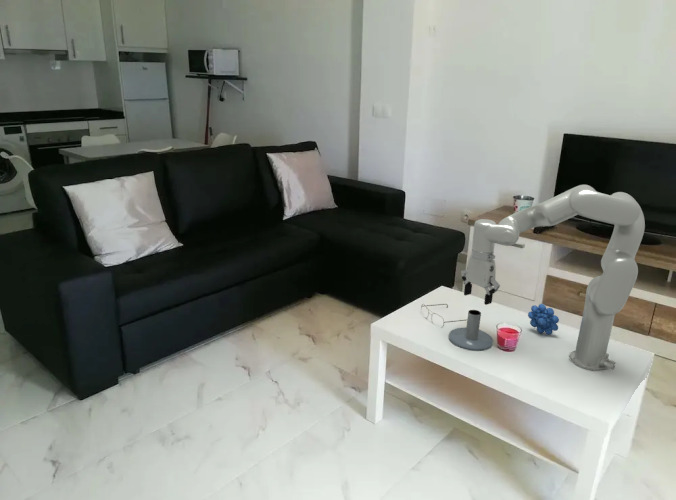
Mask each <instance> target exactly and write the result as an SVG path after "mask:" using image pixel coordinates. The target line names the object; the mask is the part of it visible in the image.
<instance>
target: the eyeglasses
mask: <svg viewBox="0 0 676 500" xmlns="http://www.w3.org/2000/svg"><path fill="white" fill-rule="evenodd" d="M420 306H421V307H420V309H422V308H423V307H424V306H425V308H426V309H427V310H428V314H427V316H426V318H428V317H429V316H430V315H431V314H432V315H433V314H434V315H437V316H439V317H441V318H442V316H441V315H439V314H438V313H435V312H433V311H431V310H430V309H429V308H428V307H432V306H433V307H434V306H435V307H436V304H429V305H428V304H427V305H425V304H424V303H423V304H421V305H420ZM437 306H446V308H448V307H449V305H448V303H439V304H437ZM442 320H443V325H442V326H441V327H440V328H441V329H442V328H443V327H444V326H445V323H453V322H454V323H455V322H465V321H467V319H459V320H458V319H457V320H450V321H449V320H448V321H445V320H444V318H442ZM431 323H432V324H434V322H433V316H431Z"/></svg>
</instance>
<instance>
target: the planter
mask: <svg viewBox="0 0 676 500" xmlns="http://www.w3.org/2000/svg"><path fill="white" fill-rule="evenodd" d="M481 317H482V312H481V311H479V310H477V309H470V310H468V313H467V319H466V321H467V322H466V327H465V328H466V335H465V337H466V338H467V339H469V340H477V339H478V333H479V330H480V326H481Z"/></svg>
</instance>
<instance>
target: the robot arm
mask: <svg viewBox="0 0 676 500" xmlns="http://www.w3.org/2000/svg"><path fill="white" fill-rule="evenodd" d="M575 216H581V217H584V218H587V219H591V220H595V221H598V222H602V223H607V224H611V225H614V227H613V231H612V234H611V237H610V240H609V242H608V244H607V247H606V249H605V251H604V252H603V255H602V257H601V260H600V266H601V268H602V271H603V272H602V274H601V275H597V276H595V277H593V278H592V279H591V280H590V281H589V282H588V285H587V288H586V291H585V292H586V293H585V299H584V300H585V301H584V307H583V311H582V317H581V322H580V326H579V327H580V328H579V332H578V338H577V341H576V347H575V350H572V351H570V352H569V355H568V357H569V360H570V361H571V362H572V363H573V364H575V365H576V366H577V367H580V368H583V369H585V370H589V371H598V372H599V371H605V370H607V369H608V370H609V369H610V370H611V371H614V369H615V368H616V361H615V360H611V359H610V358H609V357H610V354H609V353H607V351H608V347H609V342H610V339H611V333H612V331H613V325H614V322H615V316H616V314H618V313H620V311H621V310H623V308H624V307H625V305H626V303H627V301H628V299H629V297H630V294H631V292H632V291H633V288H634V285H635V284H636V281H637V279H638V274H639V268H638V264H637V262H636V260H635V258H636V256H637V253H638V251H639V248H640V246H641V245H640V244H641V242H642V240H643V236H644V233H645V228H646V224H645V216H644V212H643V210H642V208H641V206H640V204H639V203H638V201H636V199H635V198H634V197H633V196H632V195H630V194H628V193H626V192H623V191H617V192H614V193H612V194H610V195H609V194H606V193H602V192H599V191H597V190H596V189H595V188H594V187H593V186H591V185H588V184H579V185H577V186H574V187H572V188H570V189H567V190H565V191H564V192H561V193H560V194H558V195H556V196H553V197H552V198H549V199H547V200H545V201H544V200H543V201H542V202H540V203H537V204H534V205H532V206H529V207H526V208H523V209H520V210H518V211H516V212H514V213H512V214H510V215H508V216H506V217H505V218H503V219H501V220H500V221H499V222H498V224H497V222H495V220H491V219H487V218H485V219H484V218H481V219H477V220H476V221H475V222H474V225H473V235H472V243H471V245H472V246H471V252H470V253H471V254H470V256H469V259H468V262H467V266H466V269H463V270H461V271H460V273H461V280H462V281H463V285H464V291H463V295H464V296H469V295H471V294H472V289H473V284H474V285H476V286H478V287H480V288H483V289H484V291H485V295H484V303H483V304H484V305H486V306H487V305H490V304H492V303H493V296H494V294H495V293H496V292H498V290H499V289H500V287H501V285H500V283H499V282H498V281H497V280H496V269H497V268H496V260H495V259H496V255H494V253H495V252H494V251H495V246H496V245H495V244H497V245H501V246H506V247H509V246H513V245H515V244H516V243H517V242H518V241H519V239H520V234H522V233H524V232H526V231H528V230H531V229H534V228H537V227H552V226H556V225H558V224H560V223H562V222H565V221H567V220H569V219H571V218H573V217H575Z"/></svg>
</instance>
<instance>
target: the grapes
mask: <svg viewBox="0 0 676 500" xmlns="http://www.w3.org/2000/svg"><path fill="white" fill-rule="evenodd" d="M530 310H531V311H528V313H527V316H528V318H529V319H530V321H529V325H530V326H532V328H536V331H537V332H538V334H544V333H545V334H546V335H548V336H550V335H552V334H553V332H554V331H558V330H559V325H558V323H559V321H560V319H559V316H557V315H556V314H555V310H554V309H553V308H552V307H547V306H546V304H543V303H539V304H538V306H537V305H532V306H531V307H530Z"/></svg>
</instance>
